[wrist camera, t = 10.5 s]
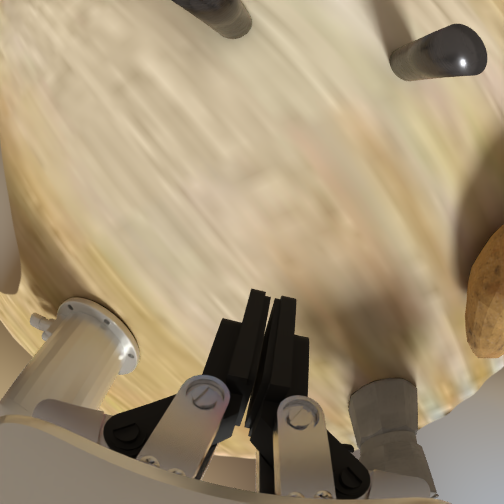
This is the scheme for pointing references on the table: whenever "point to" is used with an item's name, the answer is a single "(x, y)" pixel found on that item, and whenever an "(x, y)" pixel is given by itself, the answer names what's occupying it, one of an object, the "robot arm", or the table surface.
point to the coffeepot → (389, 429)
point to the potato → (487, 300)
